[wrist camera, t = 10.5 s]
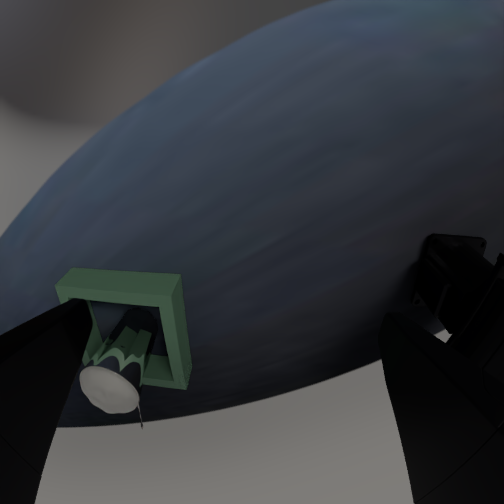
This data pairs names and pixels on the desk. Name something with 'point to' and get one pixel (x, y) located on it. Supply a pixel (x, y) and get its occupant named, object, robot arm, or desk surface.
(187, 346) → the green square frame
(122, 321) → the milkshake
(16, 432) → the robot arm
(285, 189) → the desk surface
